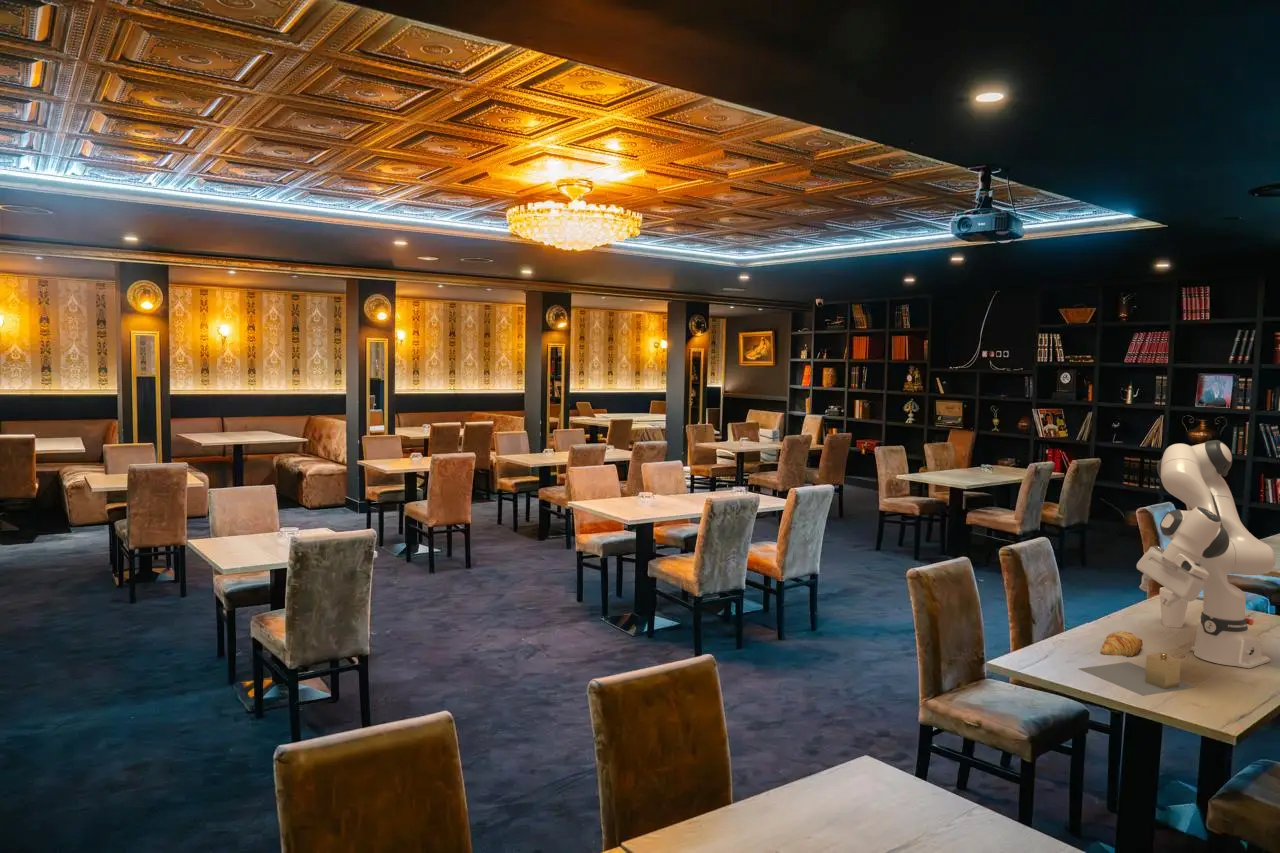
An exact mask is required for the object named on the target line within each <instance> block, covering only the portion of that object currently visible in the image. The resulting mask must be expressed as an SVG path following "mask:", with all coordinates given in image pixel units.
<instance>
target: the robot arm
mask: <svg viewBox="0 0 1280 853" xmlns="http://www.w3.org/2000/svg"><path fill="white" fill-rule="evenodd" d="M1158 460H1159V459H1158ZM1232 464H1233V456H1232V452H1231V450H1230V449H1229V447H1228V446H1227V445H1226V444H1225V443H1224V442H1223V441H1221V440H1218V439H1214V440H1207V441H1205V442H1203V443H1199V444H1195V445H1189V444H1186V443H1174V444H1171V445H1169V446H1168V447H1167V448H1166V449H1165V451H1164V452H1163V456H1162V458H1161V459H1160V460H1159V461H1158V462H1157V464H1156V470H1157V474H1158V476H1159V478H1160V479H1161V480H1160V481H1161V484H1162V486H1163V488H1164V489H1165V491H1166V492H1168V493H1169V494H1170V495H1172V496H1173V497H1174V498H1176V499H1178V500H1180V501H1181V502H1182V503H1184V504H1185V505H1187V506H1188V507H1190V509H1191V510H1181V509H1173V510H1170V511H1168V512H1166V513H1165V514H1164V516H1163V517H1162V519H1161V521H1160V523H1159V529H1160V532H1161V534H1162V535H1163V536H1165V537H1166V538H1167V539H1168V540H1170V541H1169V543H1168V544H1167V546H1166V547H1165V549H1164V548H1161V546H1159V545H1153V546H1150V547H1149V549H1148V550H1147V551H1146V552H1145V553H1144V554H1143V555H1142V557H1141V558H1140V559H1139V560H1138V561H1137V563H1136V569H1137V571H1139V572H1141V573H1142V575H1141V584H1140V585H1139V586H1138V587H1139V589H1140V590H1142V591H1144V592H1147V591H1148V590H1149V588H1150V585H1149V581H1152V580H1153V581H1155V582H1156V583H1158V584H1159V585H1161V586H1163V587H1166V588H1167V589H1169V590H1170V591H1172V592H1173V593H1172V595H1171V596H1173V597H1171V598H1170V599H1168V600H1167V599H1165V600H1164V602H1163V604H1164V605H1165V606H1167V607H1171V605H1172V604H1173V603H1175V602H1177V601H1179V600H1180V599H1181V598H1183V599H1185V600H1187V601H1188V603H1189V602H1194V601H1196V599H1197V598H1198V597H1199V595H1200V594H1201V592H1203V604H1202V607H1203V608H1202V611H1201V615H1200V617H1199V618H1200V624H1201V625H1199V626H1198V627H1197V630H1196V635H1195V641H1194V645H1192V646H1191V651H1192V652H1193V655H1194V656H1195V657H1197V658H1199V659H1201V660H1203V661H1207V662H1210V663H1215V664H1218V665H1224V666H1231V667H1233V666H1234V667H1239V668H1244V669H1252V668H1255V667H1258V666H1260V665H1264V664H1266V663H1269V662H1271V658H1270V657H1269V656H1267V655H1265V654H1262V642H1261V641H1260V640H1259V639H1258V638H1257V637H1256V636H1255V635H1254V634H1253V633H1252V632H1250V630H1249V628H1248V626H1253V624H1254V619H1252V618H1249V617H1246V616H1245V614H1246V603H1247V602H1246V601H1247V597H1246V594H1245V593H1244V592H1243V590H1241V589H1240V588H1239V587H1237V586H1236V585H1234V584H1233V583H1230V582H1229V581H1228V575H1238V576H1239V575H1241V576H1242V575H1244V576H1257V575H1259V576H1261V575H1267V574H1269V573H1271V572H1272V571H1273V570H1274V569H1275V566H1276V563H1277V556H1276V553H1275V551H1274V549H1273V548H1272V547H1271V546H1270V545H1269V544H1267V543H1265V542H1263V541H1261V539H1258V538H1257V537H1255V536H1254V535H1253V534H1252V533H1251V532H1249V530H1248V529H1247V528H1246V527H1245V526H1244V524H1243V523H1242V521H1241V519H1240V516H1239V513H1238V511H1237V510H1238V509H1237V507H1236V503H1235V500H1234V497H1233V495H1232V491H1231V490H1230V487H1229V485H1228V484H1227V481H1226V480H1225V479H1224V478H1223V477H1227V476H1228V473H1229V470H1230V469H1231V467H1232ZM1148 585H1149V586H1148Z"/></svg>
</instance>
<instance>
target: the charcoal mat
mask: <svg viewBox="0 0 1280 853" xmlns="http://www.w3.org/2000/svg"><path fill="white" fill-rule="evenodd" d="M1078 670H1080V671H1081V672H1085V673H1086V674H1089V675H1092V676H1094V677H1096V678H1099V679H1101V680H1104V681H1105V682H1108V683H1112V684H1113V685H1116V686H1119V687H1121V688H1123V689H1126V690H1128V691H1130V692H1133V693H1135V694H1138V695H1140V696H1144V697H1145V696H1149V695H1156V694H1157V695H1158V694H1163V693H1170V692H1175V691H1181V690H1188V689H1195V688H1196V686H1193V685H1190V684H1188V683H1185V682H1182V681H1180V680H1179V686H1178V687H1173V688H1168V689H1163V688H1161V687H1158V686H1155V685H1153V684H1150V683H1147V682H1145V676H1146V667H1143V666H1141V665H1138V664H1135V663H1132V662H1130V661H1123V662H1118V663H1110V664H1103V665H1102V664H1101V665H1096V666H1095V665H1094V666H1088V667H1081V668H1078Z"/></svg>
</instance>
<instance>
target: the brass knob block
mask: <svg viewBox="0 0 1280 853" xmlns="http://www.w3.org/2000/svg"><path fill="white" fill-rule="evenodd" d="M1181 660H1182V659H1180V658H1177V657H1174V656H1171V655H1168V654H1167V653H1165V652H1158V653H1151V654H1147V655H1146V663H1145V668H1146V676H1145V682H1147V683H1150V684H1153V685H1155V686H1158V687H1161V688H1163V689H1168V688H1173V687H1178V686H1179V681H1180V673H1181V672H1180V671H1181V663H1182V662H1181Z"/></svg>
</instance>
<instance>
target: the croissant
mask: <svg viewBox="0 0 1280 853" xmlns="http://www.w3.org/2000/svg"><path fill="white" fill-rule="evenodd" d="M1143 644H1144V643H1143V639H1141V638H1140V637H1137V636H1135V635H1133V633H1131V632H1126V631H1117V632H1112V633H1110V634H1108V635H1107V636H1106V637H1105V640H1104V642H1103V644H1102V645H1101V646H1102V647H1101V648H1100V654H1102V655H1106V656H1122V657H1125V656H1129V657H1130V656H1131V657H1133V656H1135V654H1136V655H1137V654H1138V653H1139V651H1140V650H1141V648H1142V647H1143Z"/></svg>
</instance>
